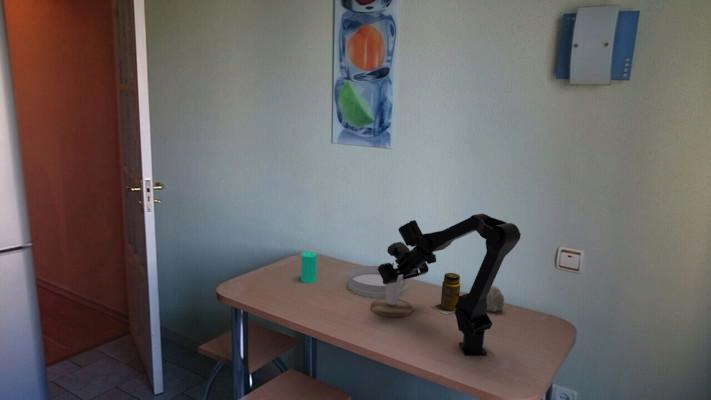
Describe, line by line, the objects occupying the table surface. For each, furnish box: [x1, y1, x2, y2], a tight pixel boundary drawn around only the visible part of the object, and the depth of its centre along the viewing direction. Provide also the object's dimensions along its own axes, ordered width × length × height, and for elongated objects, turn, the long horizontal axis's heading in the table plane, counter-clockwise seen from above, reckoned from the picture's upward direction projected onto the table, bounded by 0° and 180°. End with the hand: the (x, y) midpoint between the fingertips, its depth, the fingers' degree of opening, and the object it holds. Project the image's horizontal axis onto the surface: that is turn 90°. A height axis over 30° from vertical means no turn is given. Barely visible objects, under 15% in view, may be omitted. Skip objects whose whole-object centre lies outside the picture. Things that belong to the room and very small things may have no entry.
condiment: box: [430, 272, 461, 315], centre depth 170 cm, size 7×8×12 cm
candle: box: [300, 251, 318, 284], centre depth 191 cm, size 6×6×12 cm
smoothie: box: [385, 262, 403, 305], centre depth 167 cm, size 6×6×14 cm
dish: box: [347, 265, 408, 299], centre depth 188 cm, size 22×22×5 cm
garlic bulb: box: [486, 284, 505, 312], centre depth 171 cm, size 9×8×10 cm
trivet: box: [370, 298, 413, 319], centre depth 168 cm, size 14×14×1 cm
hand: (390, 281), depth 168 cm, fingers closed on smoothie, 6 cm apart
